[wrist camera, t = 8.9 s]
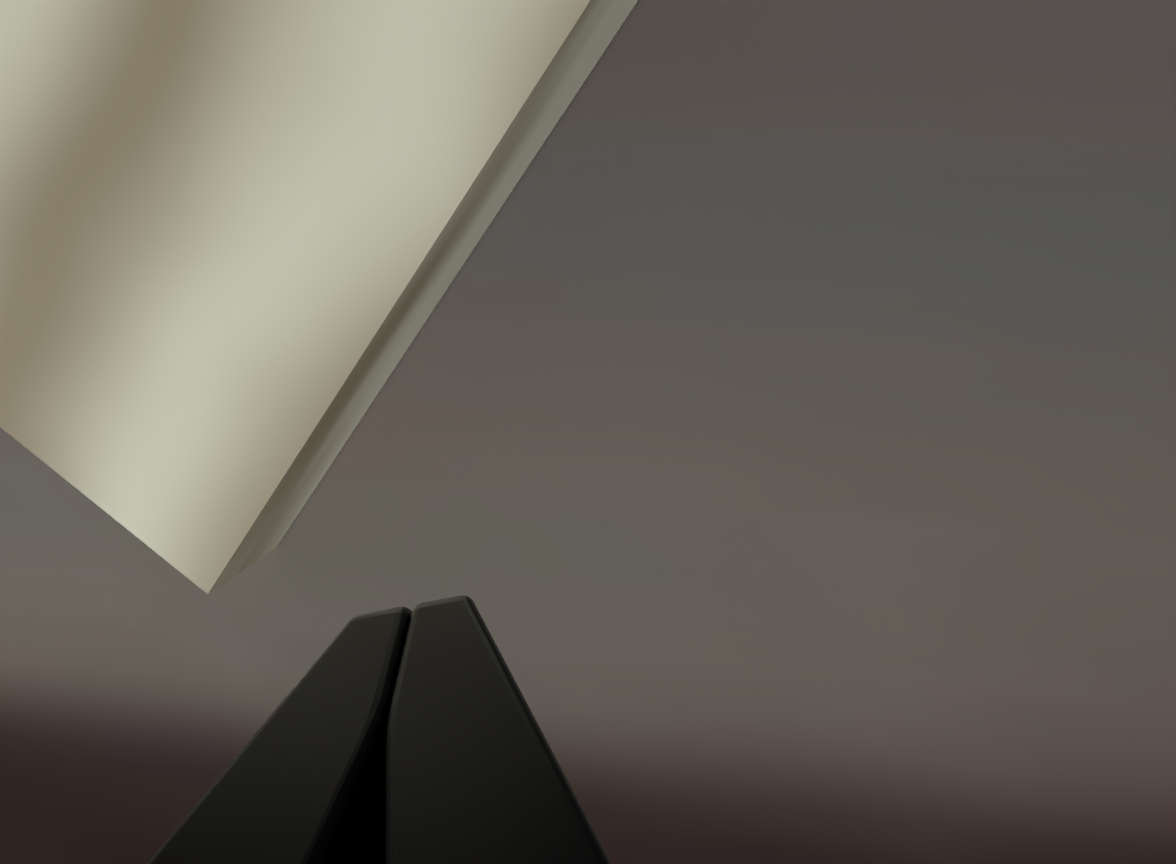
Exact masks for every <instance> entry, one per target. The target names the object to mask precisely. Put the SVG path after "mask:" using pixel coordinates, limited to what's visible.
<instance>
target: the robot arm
mask: <svg viewBox="0 0 1176 864" xmlns="http://www.w3.org/2000/svg"><path fill="white" fill-rule="evenodd" d="M148 864H611V862H610V860H609V858H608V856H607V854H606V852H605V850H604V848H603V847H602V845H601V843H600V841H599V839H598V837H597V835H596V833H595V831H594V829H593V828H592V826H591V824H590V822H589V820H588V818H587V816H586V814H585V812H584V811H583V809H582V807H581V805H580V803H579V801H578V799H577V797H576V795H575V793H574V792H573V790H572V788H571V786H570V784H569V782H568V780H567V778H566V776H565V774H564V773H563V771H562V769H561V767H560V765H559V763H558V761H557V759H556V757H555V756H554V754H553V752H552V750H551V748H550V746H549V744H548V742H547V740H546V738H545V737H544V735H543V733H542V731H541V729H540V727H539V725H538V723H537V721H536V720H535V718H534V716H533V714H532V712H531V710H530V708H529V706H528V704H527V702H526V701H525V699H524V697H523V695H522V693H521V691H520V689H519V687H518V685H517V684H516V682H515V680H514V678H513V676H512V674H511V672H510V670H509V668H508V666H507V665H506V663H505V661H504V659H503V657H502V655H501V653H500V651H499V649H498V648H497V646H496V644H495V642H494V640H493V638H492V636H491V634H490V632H489V630H488V629H487V627H486V625H485V623H484V621H483V619H482V617H481V615H480V613H479V612H478V610H477V608H476V606H475V604H474V602H473V601H472V599H470V598H469V597H467V596H457V597H451V598H446V599H441V600H435V601H430V602H425V603H421V604H419V605H417V606H416V607H415V608H414V609H413V611H411V610H410V609H408V608H406V607H397V608H392V609H387V610H381V611H376V612H370V613H365V614H360V615H357V616H355V617H353V618H352V619H351V620H350V621H349V622H348V623H347V624H346V625H345V626H344V628H343V629H342V630H341V631H340V632H339V634H338V635H337V636H336V637H335V638H334V640H333V641H332V642H331V643H330V644H329V646H328V647H327V648H326V649H325V650H324V652H323V653H322V654H321V655H320V656H319V658H318V659H317V660H316V661H315V662H314V664H313V665H312V666H311V667H310V669H309V670H308V671H307V672H306V673H305V675H304V676H303V677H302V678H301V679H300V681H299V682H298V683H297V684H296V685H295V687H294V688H293V689H292V690H291V691H290V693H289V694H288V695H287V696H286V697H285V699H284V700H283V701H282V702H281V703H280V705H279V706H278V707H277V708H276V709H275V711H274V712H273V713H272V714H271V715H270V717H269V718H268V719H267V720H266V721H265V723H264V724H263V725H262V726H261V727H260V729H259V730H258V731H257V732H256V734H255V735H254V736H253V737H252V738H251V740H250V741H249V742H248V743H247V744H246V746H245V747H244V748H243V749H242V750H241V752H240V753H239V754H238V755H237V756H236V758H235V759H234V760H233V761H232V762H231V764H230V765H229V766H228V767H227V768H226V770H225V771H224V772H223V773H222V774H221V776H220V777H219V778H218V779H217V780H216V782H215V783H214V784H213V785H212V786H211V788H210V789H209V790H208V791H207V792H206V794H205V795H204V796H203V797H202V799H201V800H200V801H199V802H198V803H197V805H196V806H195V807H194V808H193V809H192V811H191V812H190V813H189V814H188V815H187V817H186V818H185V819H184V820H183V821H182V823H181V824H180V825H179V826H178V827H177V829H176V830H175V831H174V832H173V833H172V835H171V836H170V837H169V838H168V839H167V841H166V842H165V843H164V844H163V845H162V847H161V848H160V849H159V850H158V851H157V853H156V854H155V855H154V856H153V857H152V859H151V860H150V861H149V862H148Z"/></svg>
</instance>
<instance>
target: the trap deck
mask: <svg viewBox="0 0 1176 864" xmlns="http://www.w3.org/2000/svg"><path fill="white" fill-rule="evenodd" d="M637 1H638V0H0V427H1V428H2V429H4V430H5V431H6V432H7V433H9V434H10V435H11V436H12V437H13V438H15V439H16V440H17V441H18V442H20V443H21V444H22V445H23V446H25V447H26V448H27V449H28V450H30V451H31V452H32V453H33V454H35V455H36V456H37V457H38V458H40V459H41V460H42V461H43V462H44V463H46V464H47V465H48V466H49V467H51V468H52V469H53V470H54V471H56V472H57V473H58V474H59V475H61V476H62V477H63V478H64V479H66V480H67V481H68V482H69V483H71V484H72V485H73V486H74V487H76V488H77V489H78V490H79V491H80V492H82V493H83V494H84V495H85V496H87V497H88V498H89V499H90V500H92V501H93V502H94V503H95V504H97V505H98V506H99V507H100V508H102V509H103V510H104V511H105V512H107V513H108V514H109V515H110V516H112V517H113V518H114V519H115V520H116V521H118V522H119V523H120V524H121V525H123V526H124V527H125V528H126V529H128V530H129V531H130V532H131V533H133V534H134V535H135V536H136V537H138V538H139V539H140V540H141V541H143V542H144V543H145V544H146V545H147V546H149V547H150V548H151V549H152V550H154V551H155V552H156V553H157V554H159V555H160V556H161V557H162V558H164V559H165V560H166V561H167V562H169V563H170V564H171V565H172V566H174V567H175V568H176V569H177V570H179V571H180V572H181V573H182V574H183V575H185V576H186V577H187V578H188V579H190V580H191V581H192V582H193V583H195V584H196V585H197V586H198V587H200V588H201V589H202V590H203V591H205V592H206V593H207V594H209V593H210V592H212V591H213V590H215V589H216V588H218V587H219V586H220V585H222V584H223V583H225V582H226V581H228V580H229V579H231V578H232V577H234V576H235V575H237V574H238V573H240V572H241V571H242V570H244V569H245V568H247V567H248V566H250V565H251V564H253V563H254V562H256V561H257V560H259V559H260V558H262V557H263V556H264V555H266V554H267V553H269V552H270V551H272V550H273V549H275V548H276V547H277V546H278V544H279V543H280V541H281V540H282V538H283V537H284V535H285V534H286V532H287V531H288V529H289V528H290V526H291V525H292V523H293V522H294V520H295V519H296V517H297V516H298V514H299V513H300V511H301V510H302V508H303V507H304V505H305V503H306V502H307V500H308V499H309V497H310V496H311V494H312V493H313V491H314V490H315V488H316V487H317V485H318V484H319V482H320V481H321V479H322V478H323V476H324V475H325V473H326V472H327V470H328V469H329V467H330V466H331V464H332V463H333V461H334V460H335V458H336V457H337V455H338V454H339V452H340V451H341V449H342V448H343V446H344V445H345V443H346V441H347V440H348V438H349V437H350V435H351V434H352V432H353V431H354V429H355V428H356V426H357V425H358V423H359V422H360V420H361V419H362V417H363V416H364V414H365V413H366V411H367V410H368V408H369V407H370V405H371V404H372V402H373V401H374V399H375V398H376V396H377V395H378V393H379V392H380V390H381V389H382V387H383V386H384V384H385V383H386V381H387V379H388V378H389V376H390V375H391V373H392V372H393V370H394V369H395V367H396V366H397V364H398V363H399V361H400V360H401V358H402V357H403V355H404V354H405V352H406V351H407V349H408V348H409V346H410V345H411V343H412V342H413V340H414V339H415V337H416V336H417V334H418V333H419V331H420V330H421V328H422V327H423V325H424V324H425V322H426V320H427V319H428V317H429V316H430V314H431V313H432V311H433V310H434V308H435V307H436V305H437V304H438V302H439V301H440V299H441V298H442V296H443V295H444V293H445V292H446V290H447V289H448V287H449V286H450V284H451V283H452V281H453V280H454V278H455V277H456V275H457V274H458V272H459V271H460V269H461V268H462V266H463V265H464V263H465V262H466V260H467V258H468V257H469V255H470V254H471V252H472V251H473V249H474V248H475V246H476V245H477V243H478V242H479V240H480V239H481V237H482V236H483V234H484V233H485V231H486V230H487V228H488V227H489V225H490V224H491V222H492V221H493V219H494V218H495V216H496V215H497V213H498V212H499V210H500V209H501V207H502V206H503V204H504V203H505V201H506V199H507V198H508V196H509V195H510V193H511V192H512V190H513V189H514V187H515V186H516V184H517V183H518V181H519V180H520V178H521V177H522V175H523V174H524V172H525V171H526V169H527V168H528V166H529V165H530V163H531V162H532V160H533V159H534V157H535V156H536V154H537V153H538V151H539V150H540V148H541V147H542V145H543V144H544V142H545V141H546V139H547V137H548V136H549V134H550V133H551V131H552V130H553V128H554V127H555V125H556V124H557V122H558V121H559V119H560V118H561V116H562V115H563V113H564V112H565V110H566V109H567V107H568V106H569V104H570V103H571V101H572V100H573V98H574V97H575V95H576V94H577V92H578V91H579V89H580V88H581V86H582V85H583V83H584V82H585V80H586V79H587V77H588V75H589V74H590V72H591V71H592V69H593V68H594V66H595V65H596V63H597V62H598V60H599V59H600V57H601V56H602V54H603V53H604V51H605V50H606V48H607V47H608V45H609V44H610V42H611V41H612V39H613V38H614V36H615V35H616V33H617V32H618V30H619V29H620V27H621V26H622V24H623V23H624V21H625V20H626V18H627V16H628V15H629V13H630V12H631V10H632V9H633V7H634V6H635V4H636V3H637Z"/></svg>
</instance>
